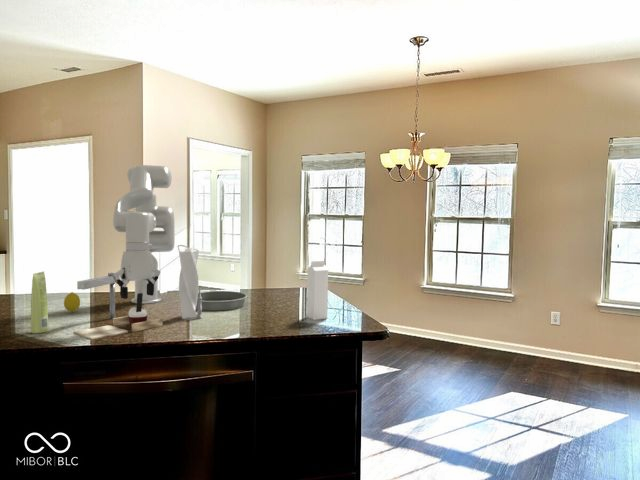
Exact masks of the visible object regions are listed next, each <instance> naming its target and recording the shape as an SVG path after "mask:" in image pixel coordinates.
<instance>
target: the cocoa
mask: <svg viewBox="0 0 640 480" xmlns="http://www.w3.org/2000/svg"><path fill="white" fill-rule="evenodd" d="M142 297H143V294H142V293H138V294H137V303H136V306H135V307H131V308H130V309H129V310H128V315H127V316H128V318H129V323H128V324H129V325H130V326H132V324H133V323H139V322H144V321H148V311H147V310H146V309H144V308H142V307H143V304H142Z"/></svg>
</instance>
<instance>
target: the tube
mask: <svg viewBox="0 0 640 480" xmlns="http://www.w3.org/2000/svg"><path fill="white" fill-rule="evenodd" d="M32 275H33V276H32V279H31V280H32V281H31V283H32V284H31V293H30V294H31V298H30V299H31V300H30V301H31V302H30V307H31V308H30V333H32V334H43V333H45V332H48V331H49V311H48V310H49V309H48V308H49V307H48V294H47V292H48V291H47V284H46V283H47V282H46V275H45V271H39V272H35V273H33V274H32Z"/></svg>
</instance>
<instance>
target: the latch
mask: <svg viewBox="0 0 640 480" xmlns="http://www.w3.org/2000/svg"><path fill="white" fill-rule="evenodd" d="M114 273H115V272H108V273H107V274H108V275H103V276H98V277H93V278H89V279H88V278H87V279H83V280H77V282H76V285H77V287H76V289H77V290H82V291H83V290H89V289H92V288H97V287H98V288H99V287H101V286H102V287H103V286H107V285H109V319H110V320H113V318H116V284H117V283H116V282H115V280H114V278H113V274H114ZM119 279H120V280H121V278H120V276H119Z"/></svg>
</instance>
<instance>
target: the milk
mask: <svg viewBox="0 0 640 480" xmlns="http://www.w3.org/2000/svg"><path fill="white" fill-rule="evenodd" d="M325 263H326V261H325V260H317V261H315V260H311V262H310V266H309V267H308V268H307V277H306V278H307V282H306V283H307V285H306V288H307V290H306V317H307V318H309V319H311V320H313V321H317V320H324V319H328V309H329V308H328V306H329V305H328V302H329V301H328V300H329V293H328V292H329V269H328V268H327V266H326V264H325Z"/></svg>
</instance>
